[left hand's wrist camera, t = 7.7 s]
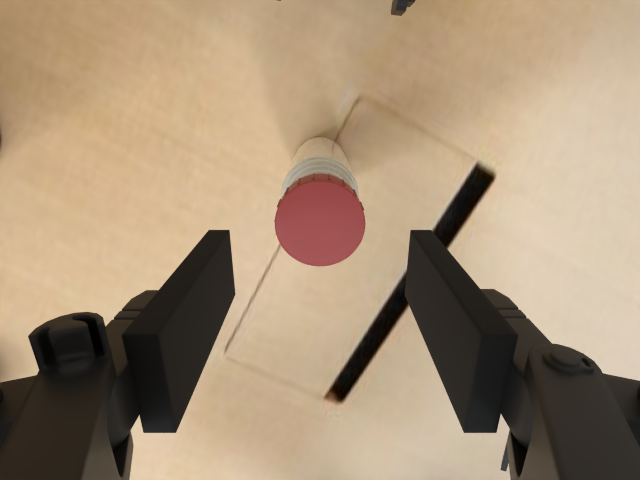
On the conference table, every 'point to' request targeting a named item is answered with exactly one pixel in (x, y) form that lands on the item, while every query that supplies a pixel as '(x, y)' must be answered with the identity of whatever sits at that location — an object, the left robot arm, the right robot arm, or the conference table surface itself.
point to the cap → (320, 220)
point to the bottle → (319, 162)
